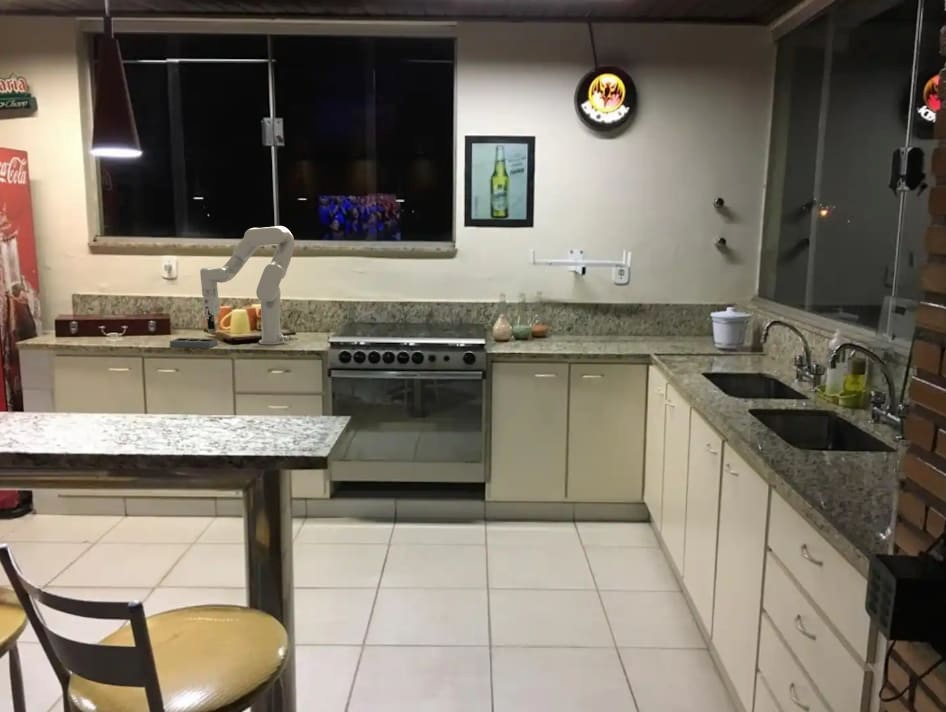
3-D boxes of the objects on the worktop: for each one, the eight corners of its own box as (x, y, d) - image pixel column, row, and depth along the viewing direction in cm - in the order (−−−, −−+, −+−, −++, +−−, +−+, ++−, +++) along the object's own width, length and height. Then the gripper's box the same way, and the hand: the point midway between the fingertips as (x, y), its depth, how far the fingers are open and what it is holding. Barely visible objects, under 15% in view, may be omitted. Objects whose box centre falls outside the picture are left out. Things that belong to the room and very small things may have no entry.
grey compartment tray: (217, 344, 388) (217, 338, 387) (209, 348, 378) (209, 342, 377) (179, 343, 389) (179, 337, 389) (170, 347, 379) (169, 341, 379)
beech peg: (219, 331, 396) (217, 312, 394) (215, 332, 392) (214, 313, 390) (211, 331, 396) (209, 312, 394) (208, 333, 392) (206, 313, 390)
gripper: (210, 294, 381) (213, 330, 385) (223, 290, 398) (226, 325, 401) (195, 294, 382) (199, 331, 386) (209, 290, 398) (213, 325, 402)
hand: (213, 327), depth 393 cm, fingers closed on beech peg, 4 cm apart
